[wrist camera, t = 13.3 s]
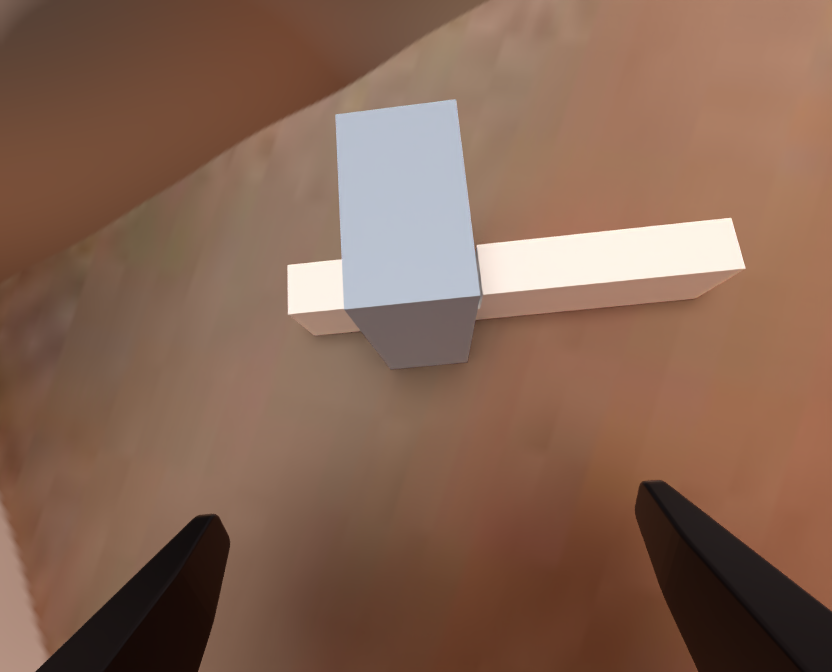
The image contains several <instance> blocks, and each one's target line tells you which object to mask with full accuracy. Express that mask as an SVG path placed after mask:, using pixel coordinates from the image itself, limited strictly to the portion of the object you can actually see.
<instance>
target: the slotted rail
mask: <svg viewBox="0 0 832 672" xmlns="http://www.w3.org/2000/svg"><path fill="white" fill-rule="evenodd" d="M475 257H476V265H477V273H478V281H479V289H480V300H479V305H478V310H477V315H476V320H481V319H491V318H501V317H512V316H522V315H532V314H542V313H553V312H563V311H573V310H583V309H594V308H604V307H614V306H624V305H635V304H645V303H655V302H666V301H676V300H686V299H696V298H697V297H699V296H701V295H702V294H704V293H706V292H707V291H709V290H711V289H712V288H714V287H716V286H717V285H719V284H721V283H722V282H724V281H725V280H727V279H729V278H730V277H732V276H734V275H735V274H737V273H739V272H740V271H742V270H744V269H745V265H744V262H743V258H742V254H741V251H740V247H739V244H738V240H737V237H736V233H735V230H734V226H733V223H732V219H731V218H725V219H716V220H707V221H697V222H688V223H678V224H669V225H660V226H650V227H641V228H632V229H622V230H613V231H603V232H594V233H585V234H575V235H566V236H557V237H547V238H538V239H528V240H519V241H510V242H500V243H491V244H482V245H477V248H476V256H475ZM288 315H290V316H291V317H292V318H293V319H294V320H296V321H297V322H298V323H299V324H301V325H302V326H303V327H304V328H306V329H307V330H308V331H309V332H310V333H312V334H313V335H314V336H317V335H327V334H337V333H347V332H358V331H360V329H359V328H358V327H357V325H356V324H355V323H354V322H353V320H352V319H351V318H350V316H349V315H348V314H347V313H346V311H345V310H344V298H343V275H342V259H341V260H332V261H322V262H313V263H303V264H294V265H288Z"/></svg>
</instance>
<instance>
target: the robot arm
mask: <svg viewBox="0 0 832 672" xmlns="http://www.w3.org/2000/svg"><path fill="white" fill-rule="evenodd" d="M635 515H636V519H637V522H638V525H639V528H640V530H641V533H642V536H643V539H644V542H645V545H646V548H647V551H648V554H649V556H650V559H651V562H652V565H653V568H654V571H655V574H656V577H657V580H658V582H659V585H660V588H661V590H662V593H663V596H664V598H665V600H666V602H667V605H668V607H669V609H670V611H671V613H672V616H673V618H674V620H675V622H676V624H677V626H678V629H679V631H680V633H681V635H682V637H683V639H684V641H685V644H686V646H687V648H688V650H689V652H690V654H691V656H692V659H693V661H694V663H695V665H696V667H697V669H698V672H832V611H831V610H829V609H828V608H827V607H825V606H824V605H823V604H822V603H820V602H819V601H818V600H816V599H815V598H814V597H813V596H811V595H810V594H809V593H807V592H806V591H805V590H804V589H802V588H801V587H800V586H798V585H797V584H796V583H795V582H793V581H792V580H791V579H789V578H788V577H787V576H786V575H784V574H783V573H782V572H780V571H779V570H778V569H777V568H775V567H774V566H773V565H771V564H770V563H769V562H768V561H766V560H765V559H764V558H762V557H761V556H760V555H758V554H757V553H756V552H755V551H753V550H752V549H751V548H749V547H748V546H747V545H746V544H744V543H743V542H742V541H740V540H739V539H738V538H737V537H735V536H734V535H733V534H731V533H730V532H729V531H728V530H726V529H725V528H724V527H722V526H721V525H720V524H719V523H717V522H716V521H715V520H713V519H712V518H711V517H710V516H708V515H707V514H706V513H704V512H703V511H702V510H701V509H699V508H698V507H697V506H695V505H694V504H693V503H692V502H690V501H689V500H688V499H686V498H685V497H684V496H683V495H681V494H680V493H679V492H677V491H676V490H675V489H674V488H672V487H671V486H670V485H668V484H667V483H666V482H664V481H662V480H650V481H642V482H641V483H640V485H639V490H638V495H637V499H636V504H635ZM229 548H230V539H229V536H228V534H227V532H226V530H225V528H224V526H223V524H222V522H221V520H220V518H219V516H218V515H216V514H205V515H198V516H196V517H195V518H193V519H192V520H191V521H190V522H189V523H188V524H187V525H186V526H185V527H184V528H183V529H182V530H181V531H180V532H179V533H178V534H177V535H176V536H175V537H174V538H173V539H172V540H171V541H170V542H169V543H168V544H167V545H166V546H164V547H163V548H162V549H161V550H160V551H159V552H158V553H157V554H156V555H155V556H154V557H153V558H152V559H151V560H150V561H149V562H148V563H147V564H146V565H145V566H144V567H143V568H142V569H141V570H140V571H139V572H138V573H137V574H136V575H135V576H134V577H133V578H131V579H130V580H129V581H128V582H127V583H126V584H125V585H124V586H123V587H122V588H121V589H120V590H119V591H118V592H117V593H116V594H115V595H114V596H113V597H112V598H111V599H110V600H109V601H108V602H107V603H106V604H105V605H104V606H103V607H102V608H101V609H100V610H98V611H97V612H96V613H95V614H94V615H93V616H92V617H91V618H90V619H89V620H88V621H87V622H86V623H85V624H84V625H83V626H82V627H81V628H80V629H79V630H78V631H77V632H76V633H75V634H74V635H73V636H72V637H71V638H70V639H69V640H68V641H67V642H65V643H64V644H63V645H62V646H61V647H60V648H59V649H58V650H57V651H56V652H55V653H54V654H53V655H52V656H51V657H50V658H49V659H48V660H47V661H46V662H45V663H44V664H43V665H42V666H41V667H40V668H39V669H38V670H37V671H36V672H198V670H199V667H200V664H201V661H202V657H203V654H204V651H205V648H206V645H207V642H208V638H209V635H210V632H211V629H212V625H213V622H214V618H215V613H216V609H217V605H218V600H219V595H220V591H221V586H222V581H223V577H224V572H225V567H226V563H227V558H228V553H229Z"/></svg>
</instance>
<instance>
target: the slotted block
mask: <svg viewBox="0 0 832 672" xmlns="http://www.w3.org/2000/svg"><path fill="white" fill-rule="evenodd" d="M336 137H337V160H338V183H339V206H340V229H341V252H342V275H343V298H344V310H345V311H346V313H347V314H348V315H349V316H350V318H351V319H352V320H353V322H354V323H355V324H356V325H357V327H358V328H359V329H360V331H361V332H362V333H363V334H364V336H365V337H366V338H367V340H368V341H369V342H370V343H371V345H372V346H373V347H374V349H375V350H376V351H377V352H378V354H379V355H380V356H381V358H382V359H383V360H384V361H385V363H386V364H387V365H388V367H389V368H390V369H402V368H412V367H423V366H434V365H444V364H455V363H465V362H468V357H469V351H470V346H471V341H472V336H473V331H474V325H475V320H476V315H477V310H478V305H479V300H480V289H479V281H478V273H477V265H476V257H475V249H474V241H473V233H472V225H471V217H470V209H469V201H468V193H467V185H466V176H465V168H464V160H463V152H462V144H461V136H460V128H459V120H458V112H457V104H456V99H455V100H447V101H439V102H431V103H423V104H415V105H407V106H399V107H391V108H383V109H375V110H368V111H360V112H352V113H344V114H336Z"/></svg>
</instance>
